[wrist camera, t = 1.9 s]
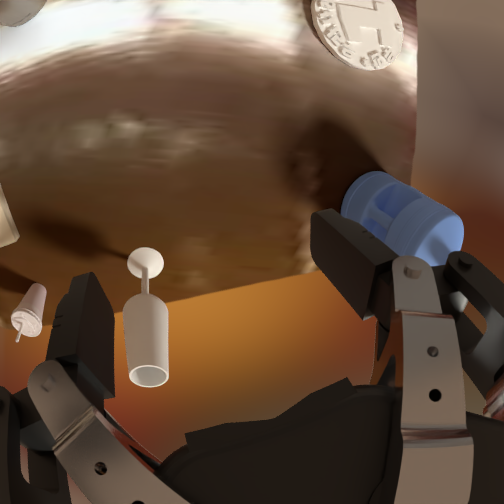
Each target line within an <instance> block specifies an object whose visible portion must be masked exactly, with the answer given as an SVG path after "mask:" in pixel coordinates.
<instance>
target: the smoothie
mask: <svg viewBox="0 0 504 504" xmlns="http://www.w3.org/2000/svg"><path fill="white" fill-rule="evenodd" d="M45 298H46V289H45V288H44V286H43V285H41V284H39V283H34V284H32V285H31V287H30V288H29V290H28V291H27V293H26V295H25V296H24V298H23V299H22V301H21V302H20V304H19V305H18V307H17V308H16V309H15V310H14V311H13V313H12V316H11V321H12V324H13V326H14V327H15V328H16V329H17V330H18V331H19V332H18V335H17V338H16V342H18V341H19V338H20V335H21V333H22V334H24V335H26V336H29V337H35V336H37V335H38V334H40V331H41V329H42V323H41V320H42V314H43V308H44V303H45Z"/></svg>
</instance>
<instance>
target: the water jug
mask: <svg viewBox="0 0 504 504" xmlns="http://www.w3.org/2000/svg"><path fill="white" fill-rule="evenodd" d="M341 215H342V216H343V217H344V218H348V219H351V220H353V221H355V222H358V223H360V224H361V225H362V226H363V227H365V228H366V229H367V230H368V232H369V231H370V232H371V233H372V234H373V235H375V238H376V237H377V238H378V239H380V240H381V241H382V242H383V243H384V244H386V245H387V246H388V247H389V248H390V249H392V250H393V251H394V252H395V253H396V254H397V255H399V256H405V255H409V256H415V257H418V258H421V259H423V260H424V261H426V262H427V263H428V264H429V265H430V266H439V265H445V264H446V261H447V258H448V255H449V254H450V253H451V252H453V251H460V249H461V246H462V242H463V236H464V227H463V223H462V221H461V219H460V217H459V216H458V215H457V214H455V213H454V212H453V211H452V210H450V209H449V208H447V207H446V206H444V205H442V204H440V203H437V202H436V201H434V200H433V199H431V198H429V197H427V196H426V195H424V194H422V193H421V192H420V191H418V190H417V189H415V188H413V187H411V186H409V185H406V184H404V183H402V182H400V181H398V180H397V179H395V178H394V177H392V176H391V175H389V174H387V173H385V172H381V171H372V172H368V173H366V174H364V175H362V176H360V177H359V178H358V179H357V180H355V181H354V182H353V184H352V185H351V186H350V187H349V189H348V190H347V192H346V194H345V196H344V199H343V202H342V206H341Z"/></svg>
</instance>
